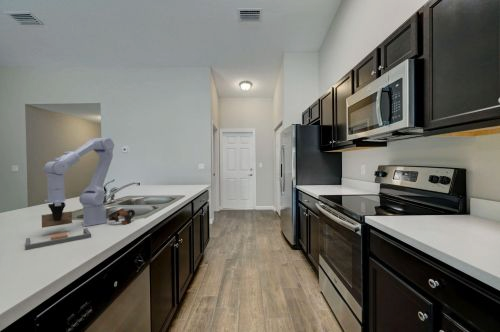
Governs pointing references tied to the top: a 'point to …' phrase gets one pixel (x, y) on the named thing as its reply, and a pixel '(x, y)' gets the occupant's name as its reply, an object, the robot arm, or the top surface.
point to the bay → (57, 240)
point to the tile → (59, 236)
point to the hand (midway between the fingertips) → (57, 220)
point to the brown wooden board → (49, 221)
